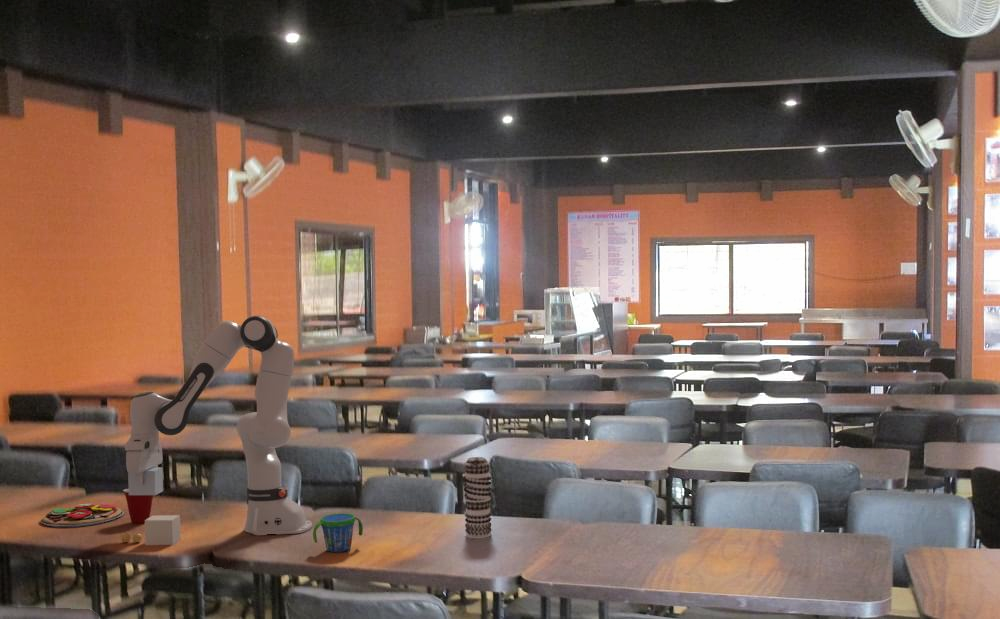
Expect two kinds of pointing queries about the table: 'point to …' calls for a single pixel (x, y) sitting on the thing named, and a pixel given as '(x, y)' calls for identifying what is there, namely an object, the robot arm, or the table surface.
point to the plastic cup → (138, 507)
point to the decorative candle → (477, 498)
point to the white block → (147, 482)
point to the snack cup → (337, 531)
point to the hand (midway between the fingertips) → (146, 482)
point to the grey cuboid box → (162, 530)
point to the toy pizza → (82, 515)
